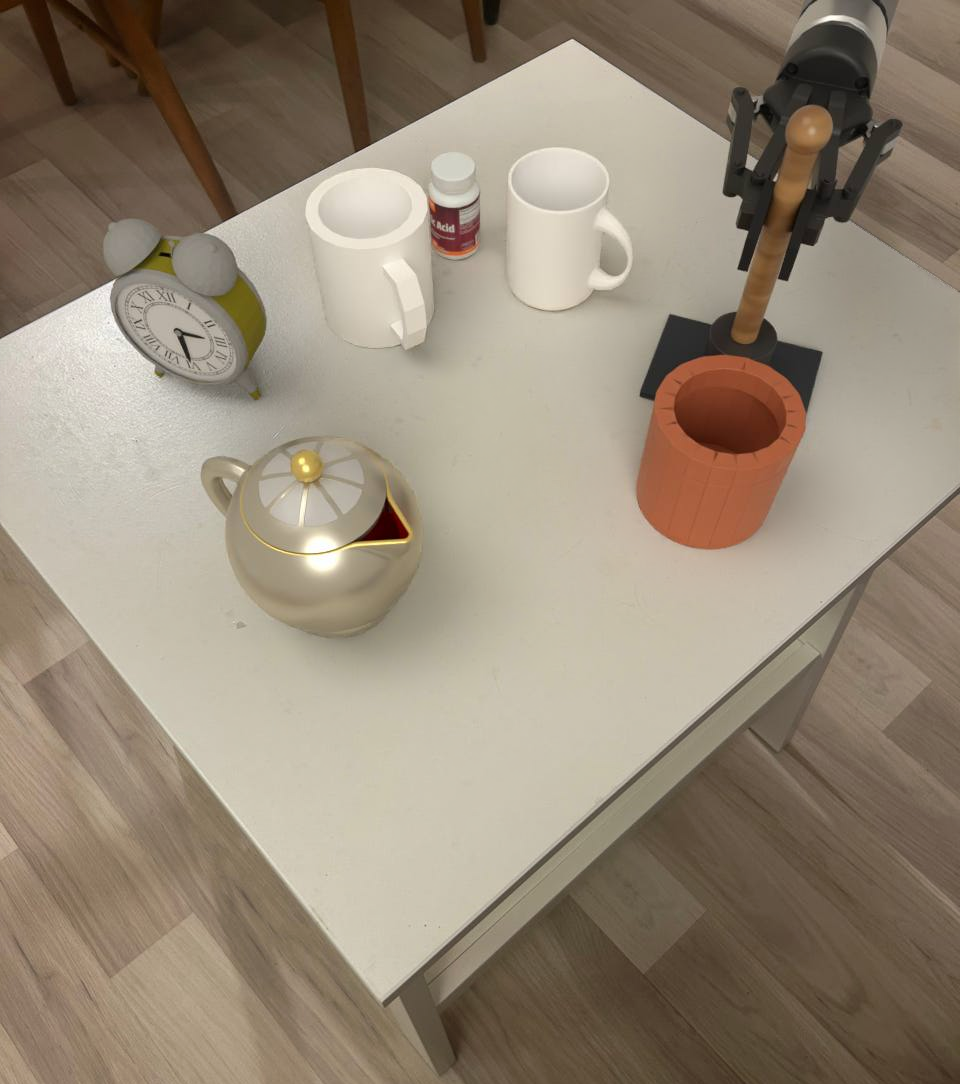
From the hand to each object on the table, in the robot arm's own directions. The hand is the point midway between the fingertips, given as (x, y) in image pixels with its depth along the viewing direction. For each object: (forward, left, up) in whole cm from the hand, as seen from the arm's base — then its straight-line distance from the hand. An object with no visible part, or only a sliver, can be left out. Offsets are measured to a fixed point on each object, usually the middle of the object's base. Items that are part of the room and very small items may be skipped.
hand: (767, 259), depth 65 cm
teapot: (-1, +36, -17) cm, 40 cm away
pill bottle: (+30, +11, -17) cm, 36 cm away
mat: (+4, -4, -17) cm, 18 cm away
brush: (+4, -4, -16) cm, 17 cm away
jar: (-6, +5, -17) cm, 19 cm away
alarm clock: (+24, +37, -17) cm, 47 cm away
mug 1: (+24, +21, -17) cm, 36 cm away
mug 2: (+20, +4, -17) cm, 26 cm away
